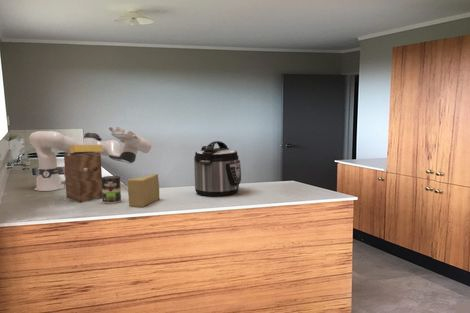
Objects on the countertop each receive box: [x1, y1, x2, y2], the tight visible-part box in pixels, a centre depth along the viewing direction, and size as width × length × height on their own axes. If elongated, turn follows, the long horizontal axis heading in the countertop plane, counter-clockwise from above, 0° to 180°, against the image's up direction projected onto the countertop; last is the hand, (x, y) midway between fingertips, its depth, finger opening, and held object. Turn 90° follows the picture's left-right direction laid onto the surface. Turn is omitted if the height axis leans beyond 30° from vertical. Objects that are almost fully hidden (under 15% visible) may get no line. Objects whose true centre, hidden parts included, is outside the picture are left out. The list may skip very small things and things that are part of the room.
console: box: [63, 152, 103, 203], centre depth 260 cm, size 14×19×27 cm
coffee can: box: [101, 175, 122, 204], centre depth 249 cm, size 10×10×14 cm
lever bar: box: [70, 145, 103, 153], centre depth 263 cm, size 22×4×4 cm, turn 152°
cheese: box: [127, 173, 160, 208], centre depth 244 cm, size 22×10×15 cm, turn 157°
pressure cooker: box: [193, 140, 242, 197], centre depth 268 cm, size 30×28×32 cm
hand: (113, 128), depth 276 cm, fingers open, 8 cm apart
